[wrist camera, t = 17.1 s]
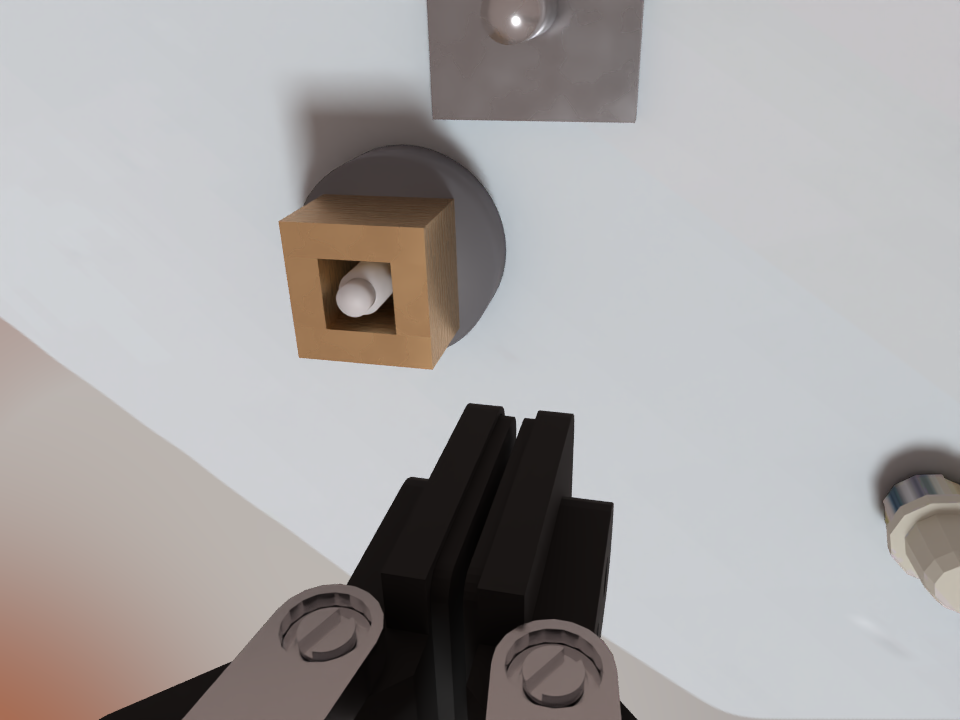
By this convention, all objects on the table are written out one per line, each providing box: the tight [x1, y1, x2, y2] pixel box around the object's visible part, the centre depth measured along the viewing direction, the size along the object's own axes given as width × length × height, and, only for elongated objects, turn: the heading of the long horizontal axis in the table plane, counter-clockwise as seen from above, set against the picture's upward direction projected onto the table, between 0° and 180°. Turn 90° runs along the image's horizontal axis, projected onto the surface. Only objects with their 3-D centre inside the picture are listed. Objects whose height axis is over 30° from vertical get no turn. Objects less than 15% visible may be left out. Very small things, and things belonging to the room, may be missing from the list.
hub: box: [304, 145, 506, 347], centre depth 39 cm, size 11×11×8 cm
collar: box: [279, 194, 460, 370], centre depth 38 cm, size 7×7×5 cm
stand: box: [427, 0, 644, 123], centre depth 33 cm, size 10×10×6 cm
